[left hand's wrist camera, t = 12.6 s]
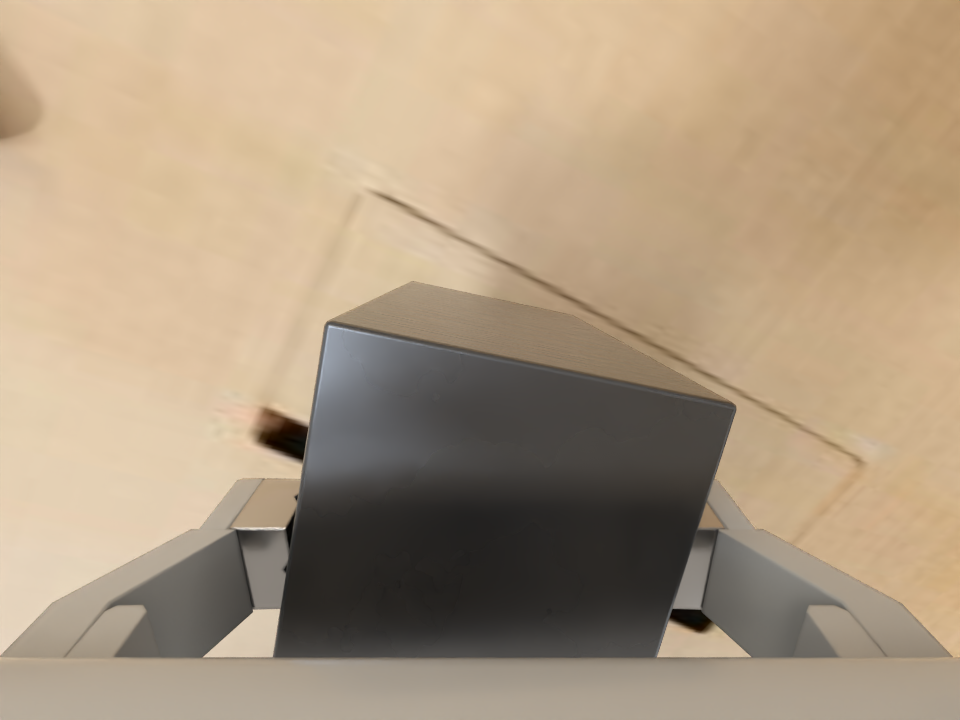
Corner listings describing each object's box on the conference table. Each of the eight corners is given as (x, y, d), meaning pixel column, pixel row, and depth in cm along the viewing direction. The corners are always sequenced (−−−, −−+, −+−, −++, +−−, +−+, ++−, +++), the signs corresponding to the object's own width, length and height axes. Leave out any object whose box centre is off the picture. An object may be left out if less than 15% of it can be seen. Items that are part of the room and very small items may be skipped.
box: (411, 280, 18) (323, 320, 7) (574, 315, 19) (740, 405, 7) (313, 804, 23) (164, 1346, 11) (447, 823, 23) (430, 1363, 12)
